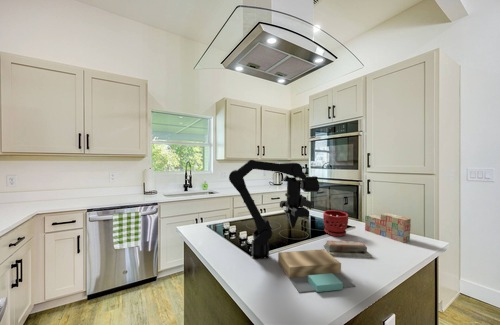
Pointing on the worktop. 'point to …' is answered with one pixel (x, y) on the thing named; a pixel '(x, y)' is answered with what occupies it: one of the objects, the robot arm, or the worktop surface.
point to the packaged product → (347, 249)
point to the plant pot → (335, 222)
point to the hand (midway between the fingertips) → (292, 227)
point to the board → (308, 263)
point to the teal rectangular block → (325, 282)
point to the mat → (305, 286)
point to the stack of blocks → (389, 226)
